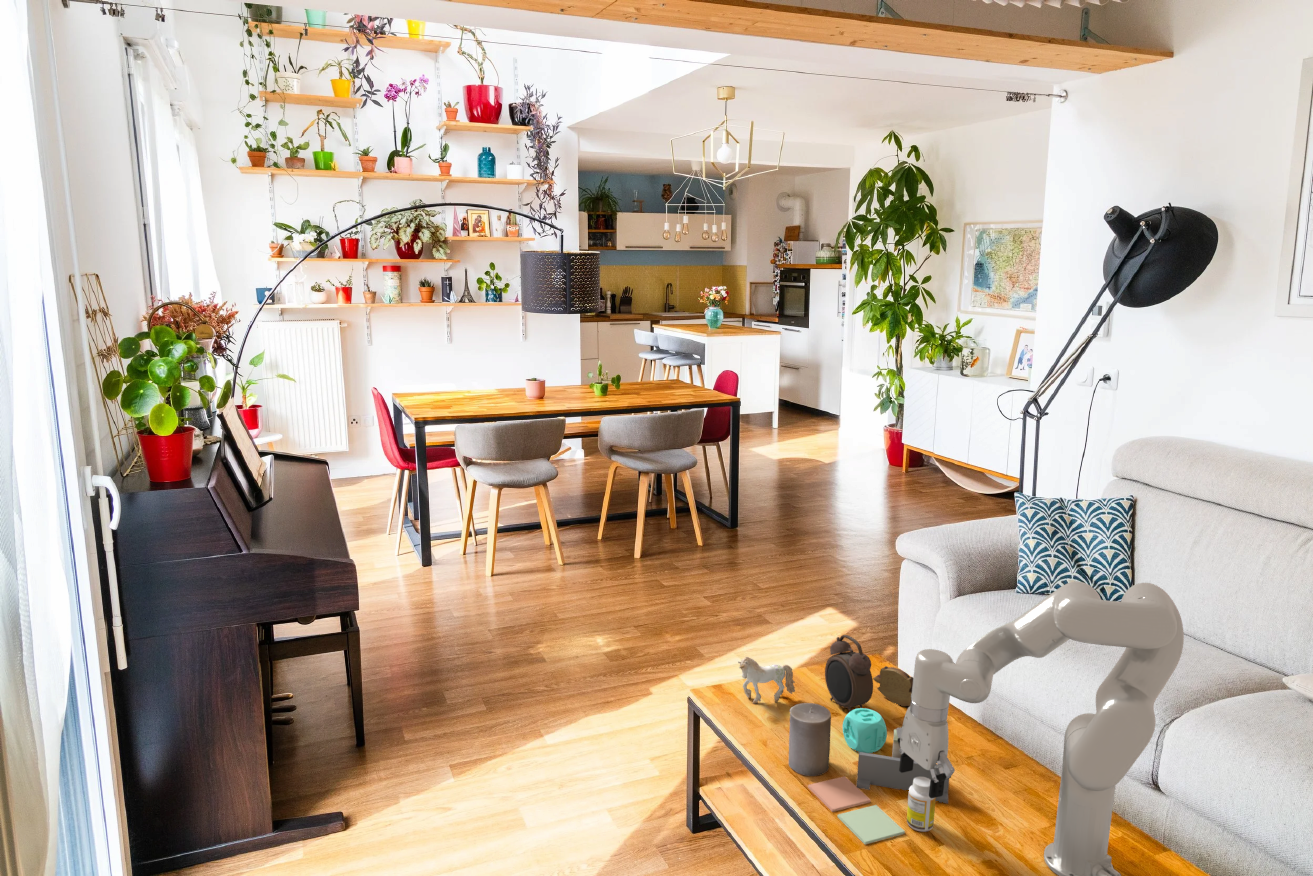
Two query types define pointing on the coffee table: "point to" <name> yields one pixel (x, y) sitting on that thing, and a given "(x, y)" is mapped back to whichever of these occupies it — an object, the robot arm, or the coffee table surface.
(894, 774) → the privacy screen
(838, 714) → the coffee table surface
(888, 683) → the wooden carving
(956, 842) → the coffee table surface
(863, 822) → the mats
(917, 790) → the supplement bottle
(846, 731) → the decorative dice
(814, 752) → the pillar candle
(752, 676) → the unicorn figurine
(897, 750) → the marked post
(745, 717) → the coffee table surface
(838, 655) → the alarm clock
